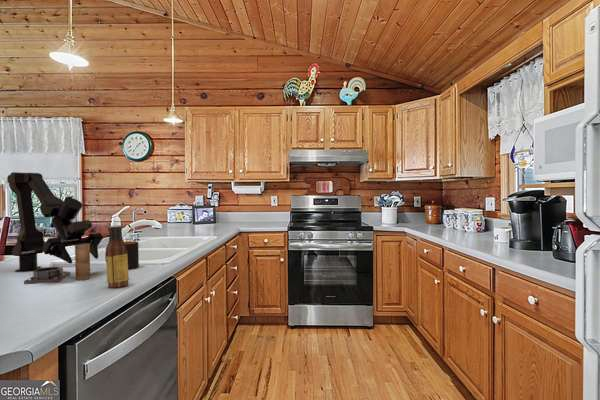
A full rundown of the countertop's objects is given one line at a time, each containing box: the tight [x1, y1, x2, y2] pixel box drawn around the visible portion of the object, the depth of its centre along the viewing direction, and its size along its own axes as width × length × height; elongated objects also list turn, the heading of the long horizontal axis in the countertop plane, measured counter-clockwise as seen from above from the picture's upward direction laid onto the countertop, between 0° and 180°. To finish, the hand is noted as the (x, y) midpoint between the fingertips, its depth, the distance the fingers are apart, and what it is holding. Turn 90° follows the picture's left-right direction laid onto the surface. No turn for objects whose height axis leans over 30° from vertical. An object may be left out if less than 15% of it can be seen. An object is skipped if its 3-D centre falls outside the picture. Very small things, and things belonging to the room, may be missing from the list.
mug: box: [104, 240, 140, 271], centre depth 141 cm, size 8×12×10 cm
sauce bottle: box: [105, 225, 130, 289], centre depth 114 cm, size 7×6×20 cm
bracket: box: [23, 266, 71, 285], centre depth 124 cm, size 12×10×4 cm
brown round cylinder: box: [74, 243, 91, 282], centre depth 123 cm, size 4×4×12 cm
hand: (84, 260), depth 123 cm, fingers open, 9 cm apart
